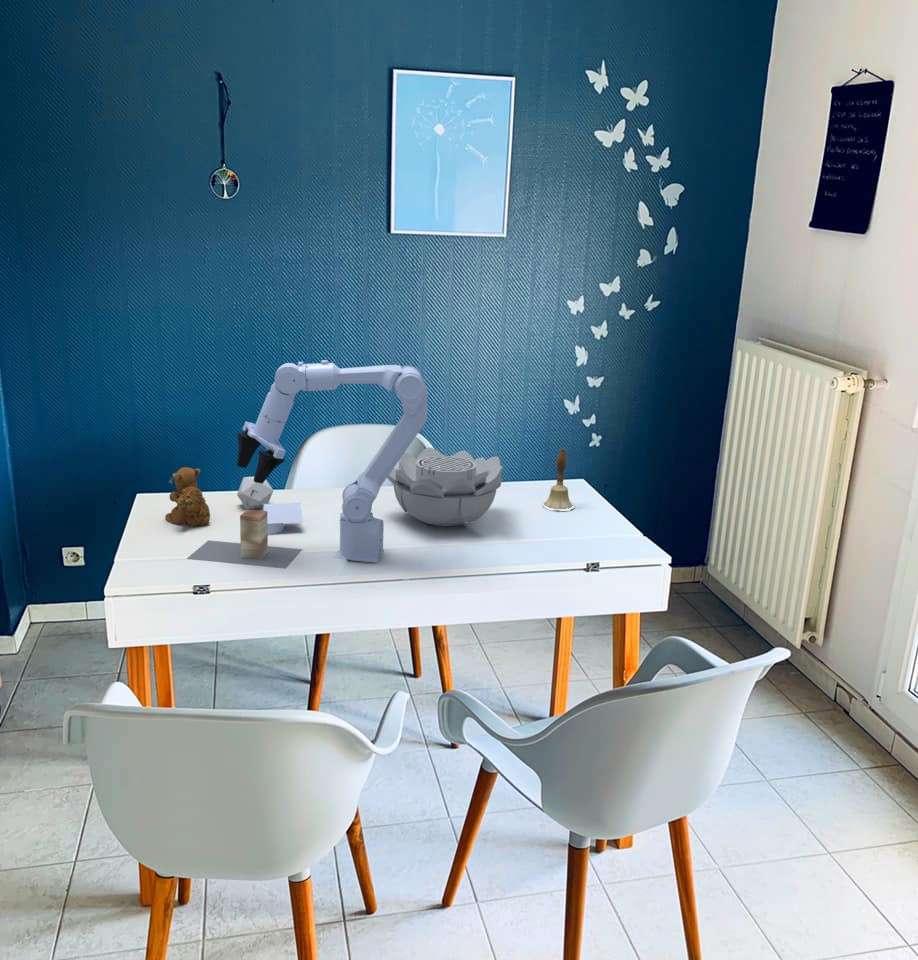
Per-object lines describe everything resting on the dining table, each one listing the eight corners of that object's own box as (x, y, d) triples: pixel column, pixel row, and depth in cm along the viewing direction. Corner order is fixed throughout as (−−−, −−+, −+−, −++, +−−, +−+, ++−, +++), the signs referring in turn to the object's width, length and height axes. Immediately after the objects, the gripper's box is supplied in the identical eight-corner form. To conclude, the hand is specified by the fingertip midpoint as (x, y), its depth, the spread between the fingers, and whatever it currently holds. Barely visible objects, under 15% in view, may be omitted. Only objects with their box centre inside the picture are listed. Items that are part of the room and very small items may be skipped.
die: (230, 509, 241) (235, 486, 234) (244, 485, 247) (249, 462, 240) (260, 522, 242) (265, 499, 234) (274, 498, 247) (279, 475, 240)
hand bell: (536, 504, 255) (540, 446, 251) (562, 501, 259) (566, 444, 254) (553, 513, 248) (558, 454, 244) (580, 510, 252) (584, 451, 247)
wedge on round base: (297, 523, 231) (243, 526, 228) (297, 496, 229) (242, 499, 226) (302, 535, 223) (246, 538, 219) (302, 508, 221) (245, 510, 217)
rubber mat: (302, 551, 212) (302, 549, 212) (285, 570, 201) (285, 568, 201) (208, 542, 215) (208, 540, 215) (186, 561, 204) (186, 558, 204)
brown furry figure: (202, 511, 236) (201, 460, 233) (222, 528, 225) (220, 475, 221) (162, 517, 231) (160, 464, 227) (180, 534, 220) (178, 480, 216)
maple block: (267, 552, 210) (267, 511, 207) (260, 559, 205) (260, 517, 203) (248, 550, 210) (247, 509, 208) (240, 557, 206) (240, 515, 203)
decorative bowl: (457, 551, 217) (460, 488, 213) (361, 521, 234) (362, 463, 230) (529, 521, 241) (533, 463, 237) (437, 496, 258) (439, 442, 254)
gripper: (241, 400, 203) (218, 457, 206) (274, 427, 194) (250, 486, 197) (268, 406, 208) (245, 461, 211) (301, 433, 199) (277, 491, 202)
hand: (249, 474), depth 204 cm, fingers open, 7 cm apart
